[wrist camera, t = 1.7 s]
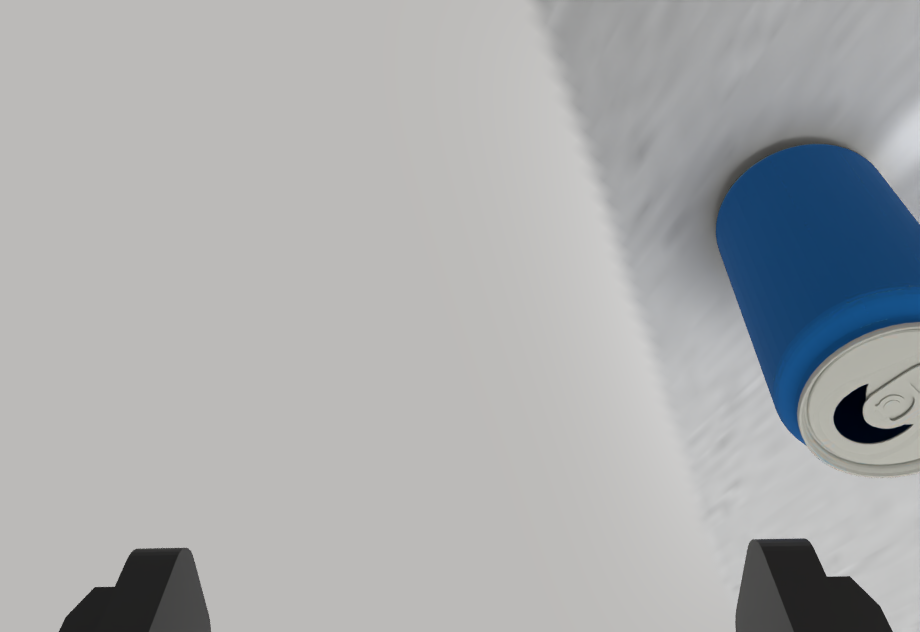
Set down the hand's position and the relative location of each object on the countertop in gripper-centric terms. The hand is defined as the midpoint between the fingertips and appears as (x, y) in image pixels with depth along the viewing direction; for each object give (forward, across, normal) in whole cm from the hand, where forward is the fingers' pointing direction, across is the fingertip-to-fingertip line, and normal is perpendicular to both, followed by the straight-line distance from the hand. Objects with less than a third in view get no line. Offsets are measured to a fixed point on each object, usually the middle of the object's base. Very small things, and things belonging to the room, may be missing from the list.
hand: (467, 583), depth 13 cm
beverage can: (+23, -13, +5) cm, 27 cm away
